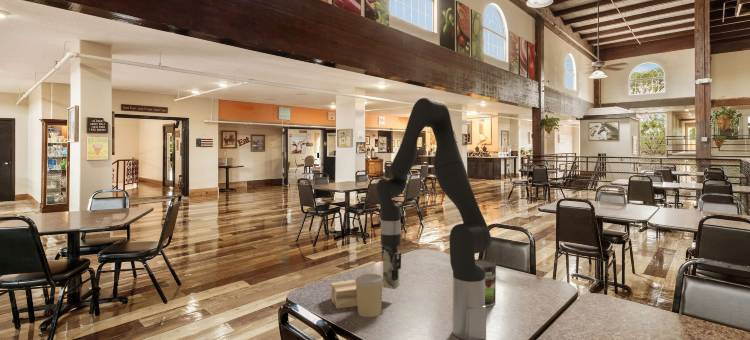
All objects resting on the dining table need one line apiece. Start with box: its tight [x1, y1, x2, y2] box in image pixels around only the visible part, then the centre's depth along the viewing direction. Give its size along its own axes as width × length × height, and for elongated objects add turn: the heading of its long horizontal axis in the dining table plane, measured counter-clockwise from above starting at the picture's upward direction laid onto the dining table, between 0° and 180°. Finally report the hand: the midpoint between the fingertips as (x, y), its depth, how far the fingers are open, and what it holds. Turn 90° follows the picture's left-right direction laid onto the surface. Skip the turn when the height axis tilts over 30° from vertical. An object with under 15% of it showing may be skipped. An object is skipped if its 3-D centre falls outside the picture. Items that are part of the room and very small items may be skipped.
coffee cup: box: [354, 273, 384, 318], centre depth 128 cm, size 9×9×12 cm
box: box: [382, 251, 401, 290], centre depth 140 cm, size 5×4×13 cm
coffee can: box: [475, 258, 497, 308], centre depth 137 cm, size 10×10×14 cm
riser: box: [330, 279, 358, 310], centre depth 138 cm, size 10×10×6 cm
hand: (391, 276), depth 140 cm, fingers closed on box, 6 cm apart
